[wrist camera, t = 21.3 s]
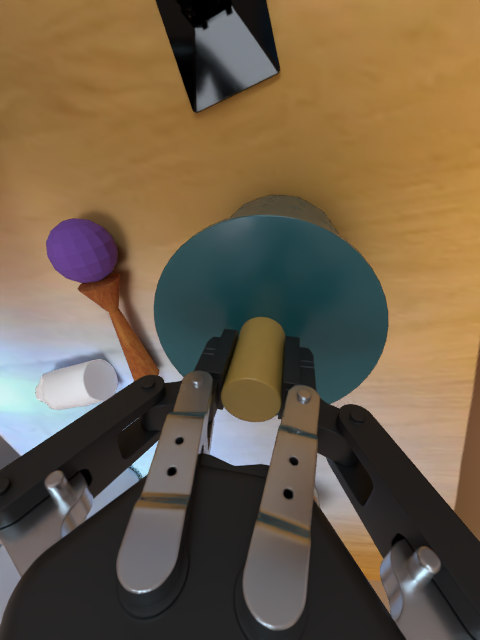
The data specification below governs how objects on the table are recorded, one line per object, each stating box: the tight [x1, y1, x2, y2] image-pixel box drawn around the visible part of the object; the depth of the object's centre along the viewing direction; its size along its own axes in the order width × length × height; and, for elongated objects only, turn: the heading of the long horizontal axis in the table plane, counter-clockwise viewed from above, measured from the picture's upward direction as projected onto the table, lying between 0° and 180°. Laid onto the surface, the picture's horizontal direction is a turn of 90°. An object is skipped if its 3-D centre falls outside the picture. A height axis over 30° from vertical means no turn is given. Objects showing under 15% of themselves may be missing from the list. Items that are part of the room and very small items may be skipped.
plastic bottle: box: [0, 468, 139, 624], centre depth 43 cm, size 15×15×28 cm
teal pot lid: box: [154, 213, 388, 422], centre depth 14 cm, size 13×13×6 cm
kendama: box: [46, 219, 159, 381], centre depth 30 cm, size 6×6×20 cm
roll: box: [35, 359, 118, 410], centre depth 38 cm, size 6×12×6 cm, turn 112°
